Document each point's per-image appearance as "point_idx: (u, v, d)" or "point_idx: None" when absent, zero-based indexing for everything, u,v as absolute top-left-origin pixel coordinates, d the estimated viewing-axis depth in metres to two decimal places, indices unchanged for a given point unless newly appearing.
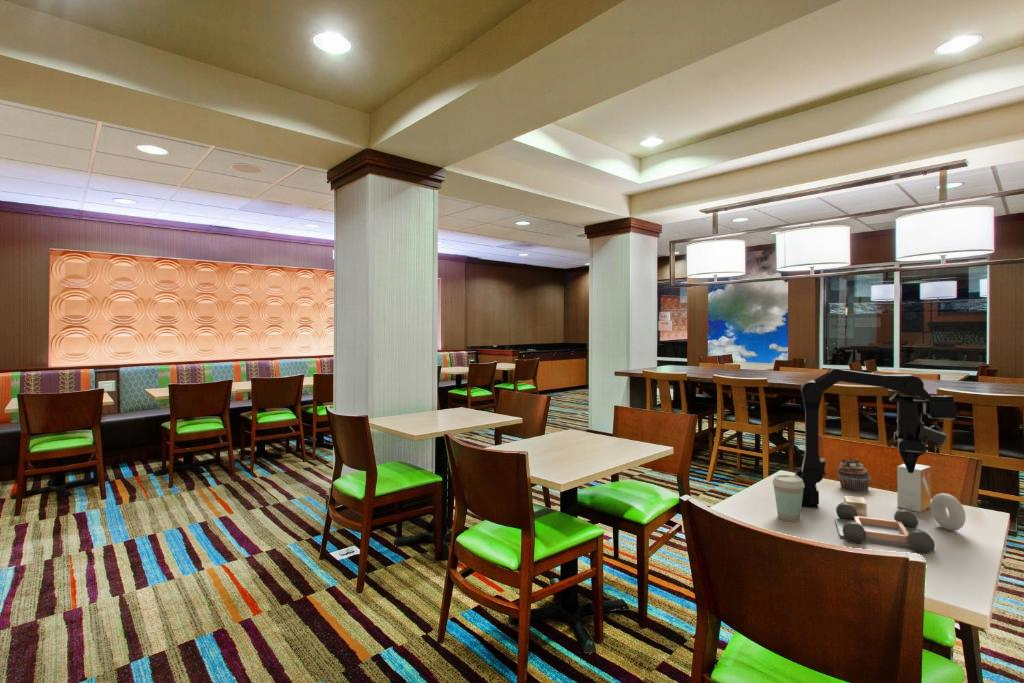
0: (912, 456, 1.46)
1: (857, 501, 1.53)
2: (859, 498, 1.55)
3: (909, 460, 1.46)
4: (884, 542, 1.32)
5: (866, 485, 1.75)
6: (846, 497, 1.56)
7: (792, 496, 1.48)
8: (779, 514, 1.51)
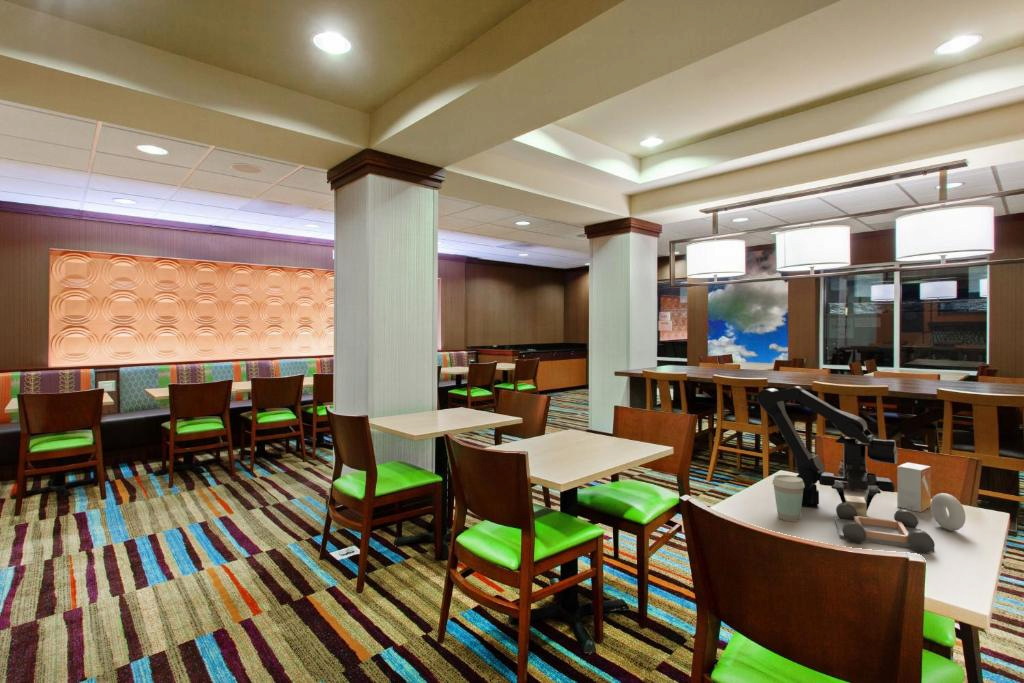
0: None
1: (857, 500, 1.53)
2: (859, 497, 1.55)
3: None
4: (884, 542, 1.32)
5: None
6: (846, 496, 1.56)
7: (792, 496, 1.48)
8: (779, 514, 1.51)
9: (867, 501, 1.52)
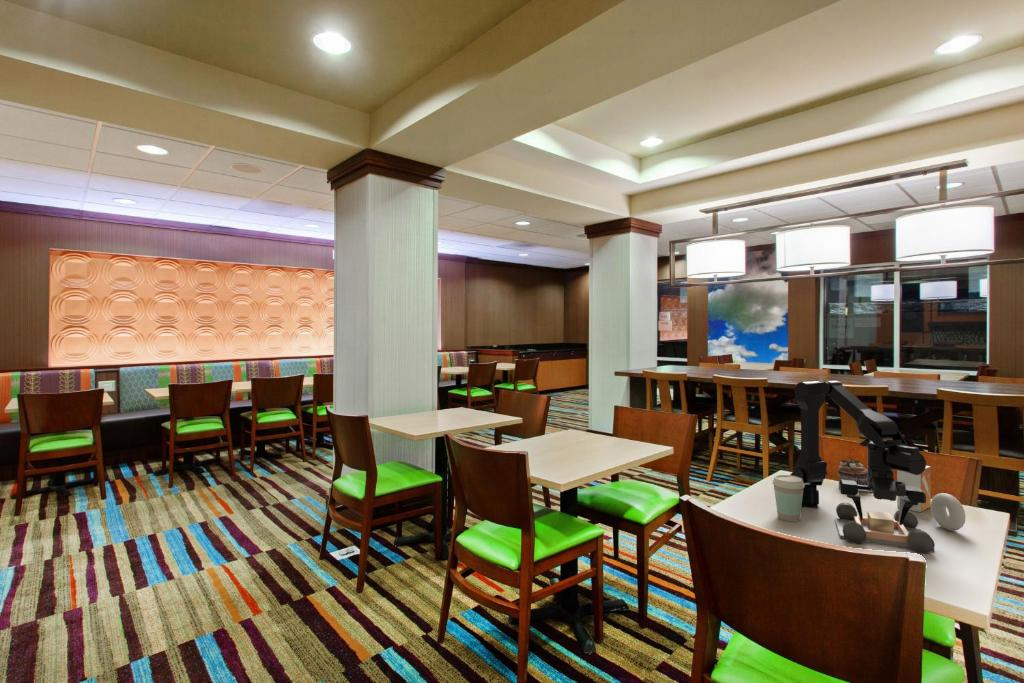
0: None
1: (883, 517, 1.37)
2: (884, 514, 1.39)
3: None
4: (884, 542, 1.32)
5: (866, 485, 1.75)
6: (870, 512, 1.40)
7: (792, 496, 1.48)
8: (779, 514, 1.51)
9: (902, 514, 1.35)
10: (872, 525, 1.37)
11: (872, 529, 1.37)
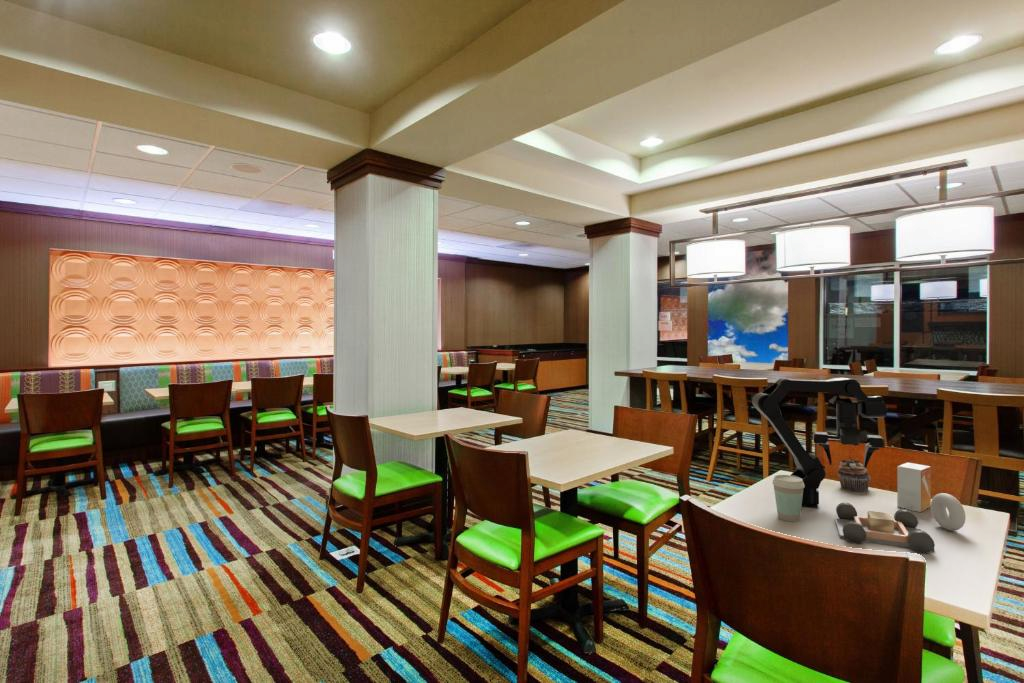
0: None
1: (883, 517, 1.37)
2: (884, 514, 1.39)
3: None
4: (884, 542, 1.32)
5: (866, 485, 1.75)
6: (870, 512, 1.40)
7: (792, 496, 1.48)
8: (779, 514, 1.51)
9: (866, 458, 1.58)
10: (872, 525, 1.37)
11: (872, 529, 1.37)
